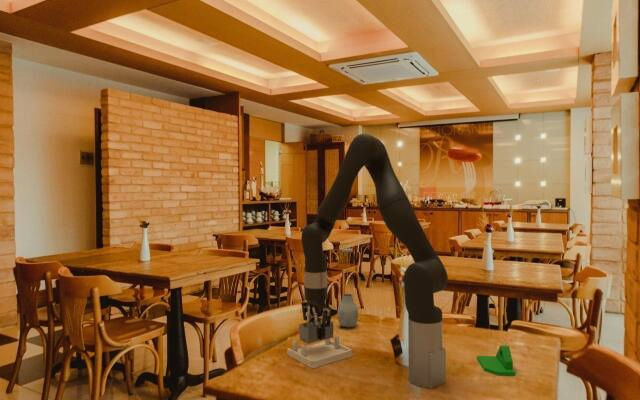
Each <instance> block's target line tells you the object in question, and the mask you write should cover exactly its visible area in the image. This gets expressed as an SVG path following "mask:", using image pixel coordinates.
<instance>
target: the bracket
mask: <svg viewBox="0 0 640 400" xmlns="http://www.w3.org/2000/svg"><path fill="white" fill-rule="evenodd" d="M476 360H477V362H478V364H479V365H480V367H481V368H482V370H483V372H486V373H489V374H492V375H495V376H503V377H504V376H505V377H516V371H515V370H514V368H513V367H514V362H513V357H512V352H511V348H510V346H509V345H506V344H505V345H502V344H501V345H499V347H498V349H497V352H496V355H476Z"/></svg>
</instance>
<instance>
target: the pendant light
mask: <svg viewBox="0 0 640 400" xmlns="http://www.w3.org/2000/svg"><path fill="white" fill-rule="evenodd" d="M353 251H354V250H353V248H342V250H341V252H343V253H346V257H347V259H346V261H347V262H346V264H347V265H346V266H347V271H346V272H347V276H346V277H347V279H349V271H348V270H349V262H348V261H349V260H348V259H349V256H348V255H349V253H352V252H353ZM337 307H338V308H337V312H336V314H337V321H338V323H339V324H340V325H341V326H342V327H345V328H353V327H354V326H356V325H357V322H358V320H359V309H358V307H357V304H356V302H355V299H354V296H353V294H352V293H351V294H350V293H343V294H342V297H341V301H340V303H339V305H338V306H337Z"/></svg>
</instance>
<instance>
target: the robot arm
mask: <svg viewBox="0 0 640 400" xmlns="http://www.w3.org/2000/svg"><path fill="white" fill-rule="evenodd" d="M363 167H365V169H366V170H367V172H368V174H369V175H370V178H371V179H372V181H373V184H374V188H375V198H376V204H377V208H378V211H379V213H380V216H381V217H382V220H383V222H384V224H385V226H386V228H387V229H388V230H389V231H390V233H391V234H392V235H393V236H394V237H395V238H396V239H397V240H399V242H401V244H403V246H405V248H406V249H407V251H408V252H409V253H410V255H411V257H412V259H413V261H414V262H413V263H410V264H409V265H408V266H407V268H406V269H405V272H404V277H403V288H404V290H403V291H404V305H405V309H406V311H407V316H408V317H407V319H408V321H407V322H408V323H407V326H408V329H407V330H408V331H407V332H408V333H407V335H408V336H407V337H408V338H407V339H408V341H407V342H408V345H407V346H408V347H407V348H408V352H407V353H408V357H407V358H408V360H407V361H408V381H409V382H410V383H412V384H413V385H415V386H418V387H422V388H423V387H424V388H429V389H433V388H437V387H439V386H441V385H444V384H445V383H446V382H447V381H446V379H447V378H446V377H447V375H446V372H447V371H446V370H447V366H446V365H447V364H446V362H447V359H446V356H447V355H446V351H447V350H446V348H445V347H443V311H442V308H440V307H438V306H437V305H435V301H434V300H435V299H434V297H435V296H434V294H435V293H439V292H441V291H443V290H445V289H446V287H447V285H448V279H449V277H448V272H447V270H446V267H445V265H444V264H443V262H442V260H441V259H440V257H439V255H438V254H437V252H436V251H435V249H434V246H433V245H432V243H431V242H430V241H429V239H428V237H427V234H426V232H425V230H424V229H423V227H422V225H421V222H420V221H419V218H418V217H417V214H416V212H415V209H414V208H413V206H412V203H411V201H410V199H409V197H408V196H407V194H406V192H405V190H404V188H403V185H402V184H401V182H400V180H399V178H398V177H397V175H396V173H395V171H394V170H395V169H394V168H393V165H392V162H391V160H390V157H389V154H388V150H387V149H386V146H385V144H384V143H383V142H382V141H381V140H380V139H378V138H377V137H375V136H373V135H371V134H369V133H360V134H357V135H356V136H355V137H354V138H353V139H352V140H351V142H350V145H349V146H348V149H347V151H346V154H345V155H344V157H343V161H342V163H341V166H340V167H339V170H338V171H337V175H336V177H335V179H334V181H333V183H332V185H331V187H330V189H329V191H328V192H327V193H326V195H325V197H324V199H323V200H322V201H321V203H320V205H319V207H318V209H317V216H316V217H315V218H314V221H313V222H312V223H310V224H307V225H306V226H305V227H304V228H303V230H302V231H301V247H302V251H303V255H304V278H303V280H304V281H303V282H304V283H303V284H304V285H303V289H304V293H303V294H304V298H303V299H304V300H305V301H301V303H300V304H301V311H302V317H303V318H302V319H303V321H306V322H305V323H307V322H311V321H317V323H318V339H319V340H321V341H323V340H322V339H325V328H326V327H329V326H330V321H331V320H332V315H333V311H332V309H331V308H327V305H326V301H327V300H328V297H329V295H328V272H327V256H326V254H325V253H324V251H323V250H324V249H323V247H324V246H323V243H325V242H326V241H327V240H328V238H329V237H330V236H331V233H332V231H333V229H334V227H335V224H336V222H337V220H338V219H339V218H340V216H341V214H342V213H343V211H344V210H345V208H346V206H347V204H348V203H349V201H350V197H351V193H352V189H353V185H354V182H355V180H356V178H357V176H358V174H359V173H360V171H361V170H362V168H363ZM321 320H322V324H321V322H320V321H321ZM326 321H327V323H326Z"/></svg>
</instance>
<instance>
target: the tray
mask: <svg viewBox="0 0 640 400" xmlns="http://www.w3.org/2000/svg"><path fill="white" fill-rule="evenodd" d="M298 346H299V345H298V340H297V339H292V349H291V348H290V347H288V348H287V349H286V351H287V352H286V353H287V354H286V355H287V356H289V357H291V358H292V359H294V360H296V361H298V362H299V363H301V364H303V365H305V366H307V367H309V368H311V369H316V368H318V367H319V366H320V367H323V366H326V365H329V364H333V363H336V362H339V361H342V360H345V359H348V358H351V357H354V349H352V348H350V347H348V346H345V345H344V344H341V343H340V335H334V340H332V339H331V338H329V339H325V340H324V341H322V342H321V341H320V342H317V343H315V344H314V343H313V344H310V345H307V343H302V344H301V345H300V346H301V347H300V348H298Z"/></svg>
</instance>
